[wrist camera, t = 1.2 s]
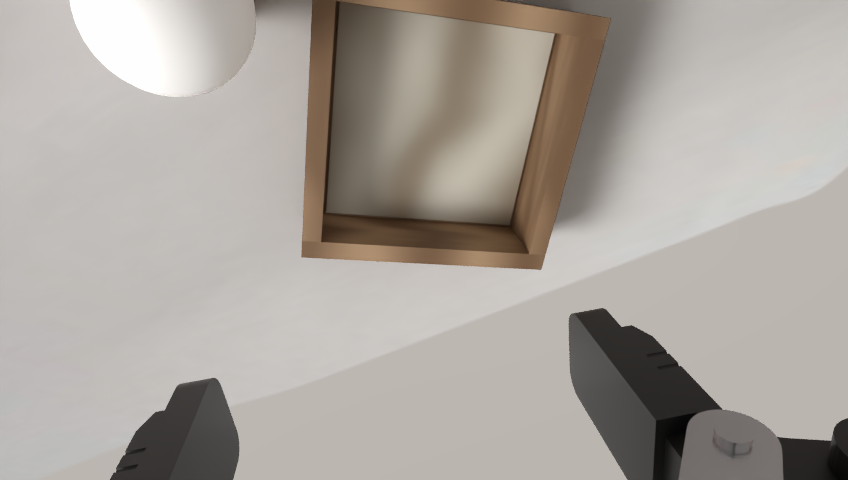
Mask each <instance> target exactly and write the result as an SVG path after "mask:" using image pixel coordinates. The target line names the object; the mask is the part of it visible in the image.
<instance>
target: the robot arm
mask: <svg viewBox="0 0 848 480" xmlns="http://www.w3.org/2000/svg"><path fill="white" fill-rule="evenodd" d="M569 351H570V373H571V379H572V383H573V386H574V389H575V392H576V394H577V396H578V398H579V400H580V401H581V403H582V405H583V406H584V408H585V410H586V411H587V413H588V415H589V416H590V418H591V420H592V421H593V423H594V425H595V426H596V428H597V430H598V431H599V433H600V435H601V436H602V438H603V440H604V441H605V443H606V444H607V446H608V448H609V450H610V451H611V453H612V455H613V456H614V458H615V459H616V461H617V463H618V465H619V466H620V468H621V470H622V471H623V473H624V475H625V476H626V478H627V479H628V480H848V418H847V419H845V420H842V421H840V422H839V423H838V424H837V425H836V426H835V428H834V431H833V436H832V440H831V441H824V440H807V439H791V438H780V437H776V435H775V434H774V433H773V432H772V431H771V430H770V429H769V428H767V426H765V425H764V424H762V423H761V422H759V421H758V420H756V419H754V418H752V417H750V416H747V415H744V414H742V413H738V412H734V411H729V410H722V408H721V407H720V406H719V405H718V404H717V403H716V402H715V401H714V400H713V399H712V398H711V397H710V396H709V395H708V394H707V393H706V392H705V391H704V390H703V389H702V388H701V386H700V385H699V384H698V383H697V382H696V381H695V380H694V379H693V378H692V377H691V376H690V375H689V374H688V373H687V372H686V371H685V370H684V369H683V368H682V367H681V366H679V365H678V363H677V361H676V360H675V359H674V358H673V357H672V356H671V355H670V354H667V352H666V350H665V349H664V348H663V347H662V346H661V345H660V344H659V343H658V342H657V341H656V339H655V338H653V336H651V335H649V334H647V333H645V332H643V331H641V330H640V329H638V328H635V327H634V326H632V325H631V326H625V327H621V326H620V325H619V324H618V323H617V322H616V320H615V319H614V318H613V317H612V316H611V315H610V314H609V312H608V311H607V310H606V309H603V308H601V309H595V310H590V311H584V312H579V313H574V314H571V315H570V318H569ZM238 458H239V439H238V433H237V430H236V427H235V425H234V421H233V418H232V416H231V413H230V410H229V407H228V404H227V401H226V399H225V396H224V393H223V390H222V387H221V385H220V383H219V381H218V380H217V379H216V378H211V379H205V380H200V381H194V382H189V383H183V384H179V385H178V386H177V387H176V389H175V391H174V393H173V395H172V397H171V399H170V401H169V403H168V405H167V407H166V409H165V411H159V412H155V413H154V414H153V415H152V416H151V417H150V418H149V419H148V420H147V421H146V422H145V423H144V424H143V425H142V426H141V427H140V428H139V429H138V430H137V431H136V433H135V435H134V436H133V438H132V440H131V442H130V444H129V446H128V448H127V449H126V454H125V455H124V456H123V457H122V459H121V460H120V463H119V464H118V466H117V468H116V470H117V471H116V473H113V475H112V477H111V479H110V480H233V478H234V474H235V470H236V467H237V463H238Z"/></svg>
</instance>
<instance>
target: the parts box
mask: <svg viewBox="0 0 848 480" xmlns="http://www.w3.org/2000/svg"><path fill="white" fill-rule="evenodd" d="M610 20H611V18H606V17H600V16H595V15H589V14H584V13H578V12H573V11H566V10H560V9H553V8H547V7H541V6H534V5H528V4H521V3H515V2H509V1H502V0H312V23H311V47H310V70H309V93H308V117H307V140H306V164H305V187H304V210H303V234H302V257H307V258H326V259H345V260H364V261H384V262H403V263H422V264H442V265H461V266H480V267H500V268H519V269H538V270H541V269H542V265H543V261H544V258H545V254H546V250H547V247H548V243H549V240H550V236H551V232H552V229H553V225H554V222H555V218H556V214H557V211H558V207H559V204H560V200H561V196H562V193H563V189H564V186H565V182H566V178H567V175H568V171H569V168H570V164H571V160H572V157H573V153H574V150H575V146H576V142H577V139H578V135H579V132H580V128H581V124H582V121H583V117H584V114H585V110H586V106H587V103H588V99H589V95H590V92H591V88H592V85H593V81H594V77H595V74H596V70H597V67H598V63H599V59H600V56H601V52H602V49H603V45H604V41H605V38H606V34H607V31H608V27H609V23H610Z"/></svg>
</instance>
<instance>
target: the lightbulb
mask: <svg viewBox="0 0 848 480" xmlns="http://www.w3.org/2000/svg"><path fill="white" fill-rule="evenodd" d="M70 5H71V10H72V13H73V17H74V20H75V23H76V26H77V28H78V30H79V32H80V34H81V36H82V38H83V40H84V42H85V43H86V44H87V46H88V47H89V49H90V50H91V51H92V53H93V54H94V55H95V57H96V58H97V59H98V60H99V61H100V62H101V63H102V64H103V65H104V66H105V67H106V68H107V69H109V70H110V71H111V72H113V73H114V74H115V75H117V76H118V77H119V78H121V79H122V80H124V81H126V82H128V83H130V84H132V85H134V86H135V87H137V88H139V89H142V90H145V91H148V92H151V93H154V94H157V95H164V96H171V97H184V96H196V95H200V94H204V93H208V92H210V91H213V90H215V89H217V88H219V87H221V86H223V85H224V84H225V83H226V82H228V81H229V80H230V79H231V78H233V77H234V76H235V75H236V74H237V72H238V71H239V70H240V69H241V67H242V66H243V65H244V64H245V62H246V60H247V58H248V56H249V54H250V52H251V50H252V47H253V42H254V38H255V34H256V12H255V6H254V0H70Z"/></svg>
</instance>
